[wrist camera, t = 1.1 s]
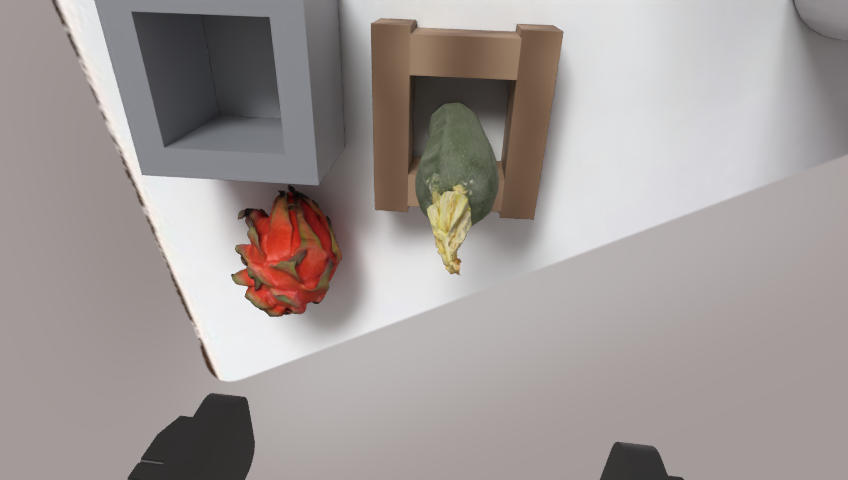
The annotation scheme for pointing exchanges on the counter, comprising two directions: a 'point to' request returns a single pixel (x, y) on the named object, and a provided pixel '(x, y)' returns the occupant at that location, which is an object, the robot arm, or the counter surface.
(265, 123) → the holder
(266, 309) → the dragon fruit
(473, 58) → the board
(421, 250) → the counter surface
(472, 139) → the vegetable
